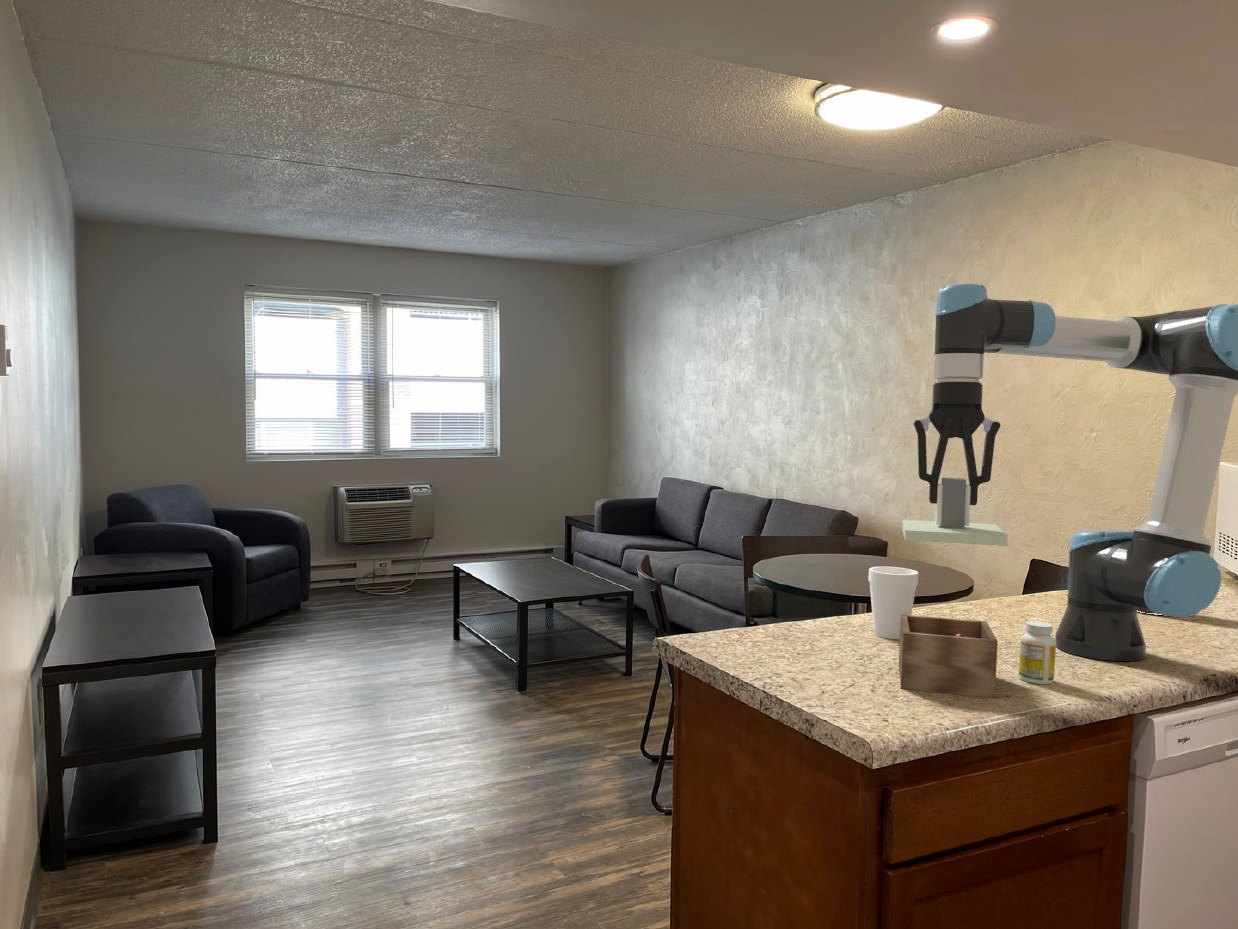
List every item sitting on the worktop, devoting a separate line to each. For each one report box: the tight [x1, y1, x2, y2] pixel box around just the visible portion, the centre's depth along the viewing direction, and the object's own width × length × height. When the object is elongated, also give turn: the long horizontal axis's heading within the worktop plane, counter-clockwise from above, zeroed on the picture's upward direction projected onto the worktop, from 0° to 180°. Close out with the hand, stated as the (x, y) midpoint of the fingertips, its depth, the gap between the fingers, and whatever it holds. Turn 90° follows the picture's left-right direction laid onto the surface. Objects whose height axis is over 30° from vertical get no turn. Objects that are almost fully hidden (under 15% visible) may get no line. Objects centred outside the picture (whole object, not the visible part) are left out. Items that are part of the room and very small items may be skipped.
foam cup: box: [867, 566, 919, 640], centre depth 176 cm, size 10×9×13 cm
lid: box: [901, 477, 1009, 547], centre depth 145 cm, size 15×15×10 cm
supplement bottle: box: [1018, 620, 1057, 685], centre depth 148 cm, size 5×5×10 cm
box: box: [898, 614, 998, 699], centre depth 146 cm, size 14×14×9 cm
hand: (951, 524), depth 145 cm, fingers closed on lid, 3 cm apart
